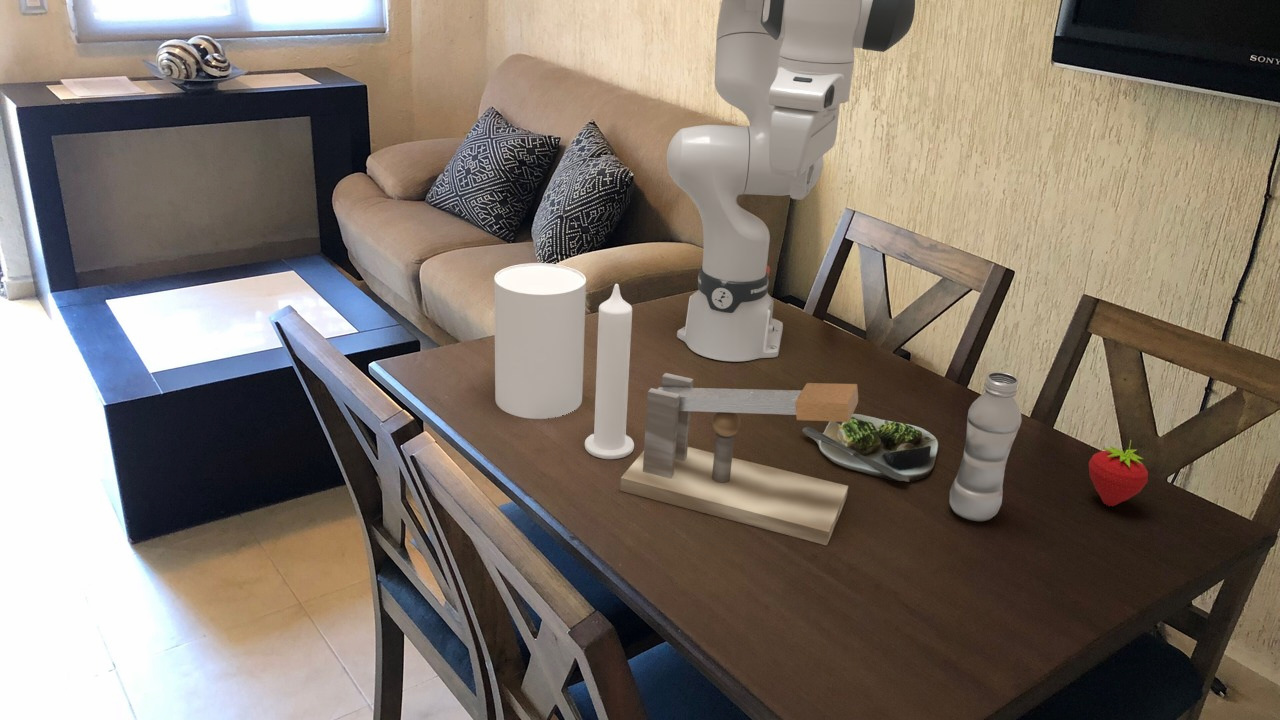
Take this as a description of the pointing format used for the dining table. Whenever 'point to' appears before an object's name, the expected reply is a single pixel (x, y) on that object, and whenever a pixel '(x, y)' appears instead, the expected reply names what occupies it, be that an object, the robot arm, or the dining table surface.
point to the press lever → (774, 401)
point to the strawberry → (1117, 475)
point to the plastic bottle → (986, 449)
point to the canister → (539, 339)
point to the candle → (612, 380)
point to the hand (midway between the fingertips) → (799, 196)
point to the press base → (726, 475)
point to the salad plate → (878, 447)
